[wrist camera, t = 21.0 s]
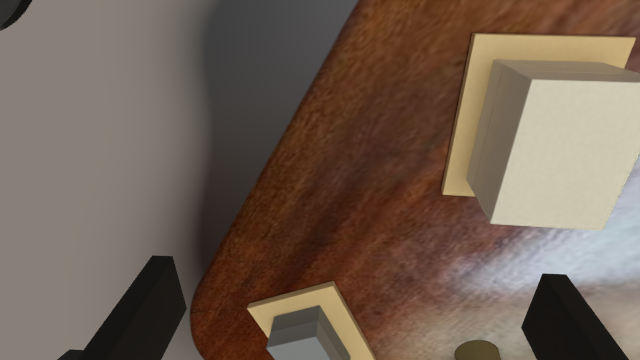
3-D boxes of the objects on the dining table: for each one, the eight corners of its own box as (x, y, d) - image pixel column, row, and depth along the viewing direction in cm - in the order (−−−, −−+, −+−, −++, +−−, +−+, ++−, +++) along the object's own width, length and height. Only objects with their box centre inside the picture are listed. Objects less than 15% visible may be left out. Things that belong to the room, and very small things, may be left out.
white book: (514, 70, 27) (532, 79, 24) (641, 74, 26) (673, 83, 23) (479, 205, 32) (490, 224, 30) (582, 211, 32) (603, 231, 29)
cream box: (472, 32, 31) (495, 41, 26) (628, 36, 30) (686, 45, 25) (440, 190, 39) (453, 221, 34) (565, 197, 38) (598, 230, 32)
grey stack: (248, 303, 50) (235, 340, 45) (333, 280, 46) (330, 317, 41) (298, 372, 56) (292, 411, 51) (375, 356, 53) (377, 397, 47)
